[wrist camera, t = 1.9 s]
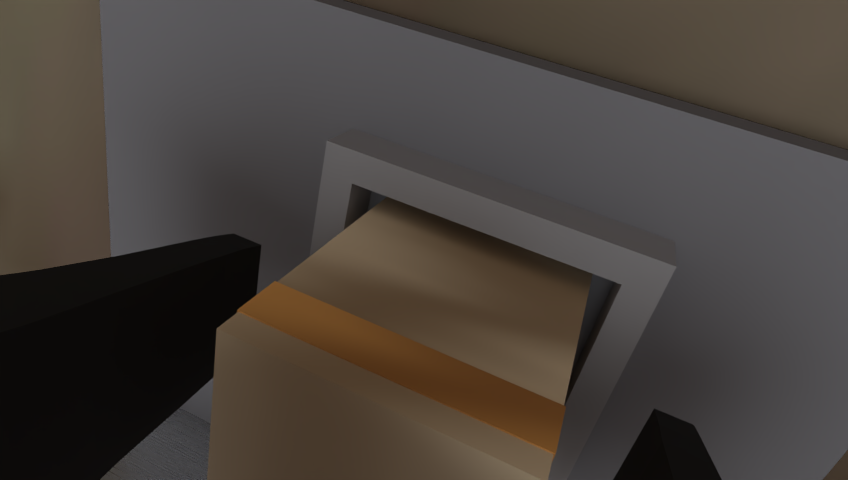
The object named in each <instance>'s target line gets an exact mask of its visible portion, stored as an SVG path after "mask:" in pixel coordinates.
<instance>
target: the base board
mask: <svg viewBox="0 0 848 480" xmlns="http://www.w3.org/2000/svg"><path fill="white" fill-rule="evenodd" d="M100 19H101V41H102V63H103V85H104V108H105V130H106V152H107V175H108V197H109V219H110V241H111V257H115V256H119V255H124V254H129V253H134V252H139V251H143V250H148V249H153V248H158V247H163V246H167V245H172V244H177V243H181V242H186V241H191V240H196V239H201V238H206V237H212V236H218V235H225V234H233V233H234V234H236V235H239V236H241V237H244V238H246V239H248V240H251V241H253V242H256V243H258V244H260V245H261V255H260V265H259V275H258V285H257V294H258V293H260V292H261V291H262V290H264V289H265V288H266V287H268V286H269V285H270V284H272V283H273V282H274V281H276V282H278V281H279V280H280V279H281V278H283V277H284V276H285V275H287V274H288V273H289V272H290V271H292V270H293V269H294V268H296V267H297V266H298V265H300V264H301V263H302V262H303V261H305V260H306V259H307V258H309V257H310V256H311V255H312V254H314V253H315V252H316V251H318V250H319V249H320V248H322V247H323V246H324V245H325V244H327V243H328V242H329V241H331V240H332V239H333V238H334V237H336V236H337V235H338V234H340V233H341V232H342V231H343V230H345V229H346V228H347V227H349V226H350V225H351V224H353V223H354V222H355V221H356V220H358V219H359V218H360V217H362V216H363V215H364V214H365V213H367V212H368V211H369V210H371V209H372V208H373V207H375V206H376V205H377V204H378V203H380V202H381V201H382V200H384V199H385V198H386V197H389V198H392V199H395V200H397V201H400V202H403V203H405V204H408V205H411V206H413V207H416V208H419V209H421V210H424V211H427V212H429V213H432V214H435V215H437V216H440V217H443V218H445V219H448V220H451V221H453V222H456V223H459V224H461V225H464V226H467V227H469V228H472V229H475V230H477V231H480V232H483V233H485V234H488V235H491V236H493V237H496V238H499V239H501V240H504V241H507V242H509V243H512V244H515V245H517V246H520V247H523V248H525V249H528V250H531V251H533V252H536V253H539V254H541V255H544V256H547V257H549V258H552V259H555V260H557V261H560V262H563V263H565V264H568V265H571V266H573V267H576V268H579V269H581V270H584V271H587V272H589V273H592V274H593V275H592V279H591V284H590V288H589V293H588V298H587V302H586V307H585V311H584V316H583V321H582V325H581V330H580V334H579V339H578V344H577V348H576V353H575V357H574V362H573V367H572V371H571V376H570V380H569V385H568V390H567V394H566V399H565V403H564V406H566V409H565V413H564V418H563V423H562V427H561V432H560V437H559V442H558V446H557V451H556V455H555V457H554V459H553V461H552V463H551V468H550V473H549V477H548V480H613V479H614V477H615V476H616V474H617V472H618V470H619V469H620V467H621V465H622V463H623V462H624V460H625V458H626V456H627V455H628V453H629V451H630V450H631V448H632V446H633V444H634V443H635V441H636V439H637V437H638V436H639V434H640V432H641V430H642V429H643V427H644V425H645V423H646V422H647V420H648V418H649V417H650V415H651V413H652V411H653V410H654V408H655V409H657V410H659V411H662V412H664V413H667V414H669V415H672V416H674V417H676V418H679V419H681V420H684V421H686V422H688V423H691V424H693V425H694V426H695V428H696V430H697V431H698V433H699V435H700V437H701V439H702V441H703V443H704V445H705V447H706V449H707V451H708V453H709V455H710V457H711V459H712V461H713V463H714V465H715V467H716V469H717V471H718V473H719V475H720V477H721V479H722V480H823V478H824V477H825V476H826V475H827V474H828V472H829V471H830V470H831V469H832V468H833V466H834V465H835V464H836V463H837V462H838V461H839V459H840V458H841V457H842V456H843V455H844V453H845V452H846V451H847V450H848V150H846V149H842V148H839V147H836V146H832V145H829V144H826V143H822V142H819V141H815V140H812V139H809V138H805V137H802V136H799V135H795V134H792V133H789V132H785V131H782V130H778V129H775V128H772V127H768V126H765V125H762V124H758V123H755V122H752V121H748V120H745V119H741V118H738V117H735V116H731V115H728V114H725V113H721V112H718V111H715V110H711V109H708V108H704V107H701V106H698V105H694V104H691V103H688V102H684V101H681V100H678V99H674V98H671V97H667V96H664V95H661V94H657V93H654V92H651V91H647V90H644V89H640V88H637V87H634V86H630V85H627V84H624V83H620V82H617V81H614V80H610V79H607V78H603V77H600V76H597V75H593V74H590V73H587V72H583V71H580V70H577V69H573V68H570V67H566V66H563V65H560V64H556V63H553V62H550V61H546V60H543V59H540V58H536V57H533V56H529V55H526V54H523V53H519V52H516V51H513V50H509V49H506V48H503V47H499V46H496V45H492V44H489V43H486V42H482V41H479V40H476V39H472V38H469V37H465V36H462V35H459V34H455V33H452V32H449V31H445V30H442V29H439V28H435V27H432V26H428V25H425V24H422V23H418V22H415V21H412V20H408V19H405V18H402V17H398V16H395V15H391V14H388V13H385V12H381V11H378V10H375V9H371V8H368V7H365V6H361V5H358V4H354V3H351V2H348V1H344V0H100ZM213 378H214V377H213ZM213 378H212V379H211V380H210V381H209V382H208V383H207V384H205V385H204V386H203V387H202V388H201V389H200V390H199V391H198V392H197V393H195V394H194V395H193V396H192V397H191V398H190V399H189V400H188V401H187V402H186V403H184V404H183V405H182V406H181V407H180V408H181V409H183V410H185V411H187V412H189V413H191V414H193V415H195V416H197V417H199V418H201V419H203V420H205V421H207V422H209V423H211V410H212V394H213Z"/></svg>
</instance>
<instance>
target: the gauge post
mask: <svg viewBox="0 0 848 480" xmlns="http://www.w3.org/2000/svg"><path fill="white" fill-rule="evenodd" d="M210 426H211V423H209V422H207V421H205V420H203V419H201V418H199V417H197V416H195V415H193V414H191V413H189V412H187V411H185V410H183V409H181V408H179V409H178V410H176V411H175V412H174V413H173V414H172V415H171V416H170V417H169V418H167V419H166V420H165V421H164V422H163V423H162V424H161V425H160V426H158V427H157V428H156V429H155V430H154V431H153V432H152V433H150V434H149V435H148V436H147V437H146V438H145V439H144V440H143V441H141V442H140V443H139V444H138V445H137V446H136V447H135V448H134V449H132V450H131V451H130V452H129V453H128V454H127V455H126V456H124V457H123V458H122V459H121V460H120V461H119V462H118V463H117V464H116V465H115V466H114V467H113V468H112V469H111V470H110V471H109V472H107V473H106V474H105V475H104V476H103V477H102V478H101V479H100V480H207V473H208V457H209V441H210Z"/></svg>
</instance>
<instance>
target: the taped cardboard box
mask: <svg viewBox="0 0 848 480" xmlns="http://www.w3.org/2000/svg"><path fill="white" fill-rule="evenodd" d="M592 275H593V274H592V273H589V272H587V271H584V270H581V269H579V268H576V267H573V266H571V265H568V264H565V263H563V262H560V261H557V260H555V259H552V258H549V257H547V256H544V255H541V254H539V253H536V252H533V251H531V250H528V249H525V248H523V247H520V246H517V245H515V244H512V243H509V242H507V241H504V240H501V239H499V238H496V237H493V236H491V235H488V234H485V233H483V232H480V231H477V230H475V229H472V228H469V227H467V226H464V225H461V224H459V223H456V222H453V221H451V220H448V219H445V218H443V217H440V216H437V215H435V214H432V213H429V212H427V211H424V210H421V209H419V208H416V207H413V206H411V205H408V204H405V203H403V202H400V201H397V200H395V199H392V198H389V197H386V198H385V199H384V200H382V201H381V202H380V203H378V204H377V205H376V206H375V207H373V208H372V209H371V210H369V211H368V212H367V213H365V214H364V215H363V216H362V217H360V218H359V219H358V220H356V221H355V222H354V223H353V224H351V225H350V226H349V227H347V228H346V229H345V230H343V231H342V232H341V233H340V234H338V235H337V236H336V237H334V238H333V239H332V240H331V241H329V242H328V243H327V244H325V245H324V246H323V247H322V248H320V249H319V250H318V251H316V252H315V253H314V254H312V255H311V256H310V257H309V258H307V259H306V260H305V261H303V262H302V263H301V264H300V265H298V266H297V267H296V268H294V269H293V270H292V271H290V272H289V273H288V274H287V275H285V276H284V277H283V278H281V279H280V280H279V281H278V282H276V281H274V282H273V283H272V284H270V285H269V286H268V287H266V288H265V289H264V290H262V291H261V292H260V293H258V294H257V295H256V296H255V297H253V298H252V299H251V300H249V301H248V302H247V303H245V304H244V305H243V306H242V307H240V308H239V309H238V310H237V313H236V314H235V315H234V316H232V317H231V318H230V319H228V320H227V321H226V322H225V323H223V324H222V325H221V326H219V327H218V328H217V331H216V346H215V362H214V378H213V394H212V410H211V426H210V441H209V457H208V473H207V480H548V477H549V473H550V468H551V463H552V461H553V459H554V457H555V455H556V451H557V446H558V442H559V437H560V432H561V427H562V423H563V418H564V413H565V409H566V406H564V403H565V399H566V394H567V390H568V385H569V380H570V376H571V371H572V367H573V362H574V357H575V353H576V348H577V344H578V339H579V334H580V330H581V325H582V321H583V316H584V311H585V307H586V302H587V298H588V293H589V288H590V284H591V279H592Z"/></svg>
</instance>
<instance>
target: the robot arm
mask: <svg viewBox="0 0 848 480" xmlns="http://www.w3.org/2000/svg"><path fill="white" fill-rule="evenodd" d="M260 255H261V245H260V244H258V243H256V242H253V241H251V240H248V239H246V238H244V237H241V236H239V235H236V234H234V233H233V234H225V235H218V236H212V237H206V238H201V239H196V240H191V241H186V242H181V243H177V244H172V245H167V246H163V247H158V248H153V249H148V250H143V251H139V252H134V253H129V254H124V255H119V256H115V257H110V258H104V259H98V260H93V261H87V262H81V263H76V264H70V265H65V266H59V267H53V268H48V269H42V270H35V271H29V272H22V273H14V274H7V275H0V480H100V479H101V478H102V477H103V476H104V475H105V474H106V473H107V472H109V471H110V470H111V469H112V468H113V467H114V466H115V465H116V464H117V463H118V462H119V461H120V460H121V459H122V458H123V457H124V456H126V455H127V454H128V453H129V452H130V451H131V450H132V449H134V448H135V447H136V446H137V445H138V444H139V443H140V442H141V441H143V440H144V439H145V438H146V437H147V436H148V435H149V434H150V433H152V432H153V431H154V430H155V429H156V428H157V427H158V426H160V425H161V424H162V423H163V422H164V421H165V420H166V419H167V418H169V417H170V416H171V415H172V414H173V413H174V412H175V411H176V410H178V409H179V408H180V407H181V406H182V405H183V404H184V403H186V402H187V401H188V400H189V399H190V398H191V397H192V396H193V395H194V394H195V393H197V392H198V391H199V390H200V389H201V388H202V387H203V386H204V385H205V384H207V383H208V382H209V381H210V380H211V379H212V378H213V377H214V362H215V346H216V331H217V328H218V327H219V326H221V325H222V324H223V323H225V322H226V321H227V320H228V319H230V318H231V317H232V316H234V315H235V314H236V313H237V310H238V309H239V308H240V307H242V306H243V305H244V304H245V303H247V302H248V301H249V300H251V299H252V298H253V297H255V296H256V295H257V285H258V275H259V265H260ZM613 480H722V479H721V477H720V475H719V473H718V471H717V469H716V467H715V465H714V463H713V461H712V459H711V457H710V455H709V453H708V451H707V449H706V447H705V445H704V443H703V441H702V439H701V437H700V435H699V433H698V431H697V430H696V428H695V426H694V425H693V424H691V423H688V422H686V421H684V420H681V419H679V418H676V417H674V416H672V415H669V414H667V413H664V412H662V411H659V410H657V409H655V408H654V410H653V411H652V413H651V415H650V417H649V418H648V420H647V422H646V423H645V425H644V427H643V429H642V430H641V432H640V434H639V436H638V437H637V439H636V441H635V443H634V444H633V446H632V448H631V450H630V451H629V453H628V455H627V456H626V458H625V460H624V462H623V463H622V465H621V467H620V469H619V470H618V472H617V474H616V476H615V477H614V479H613Z"/></svg>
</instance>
